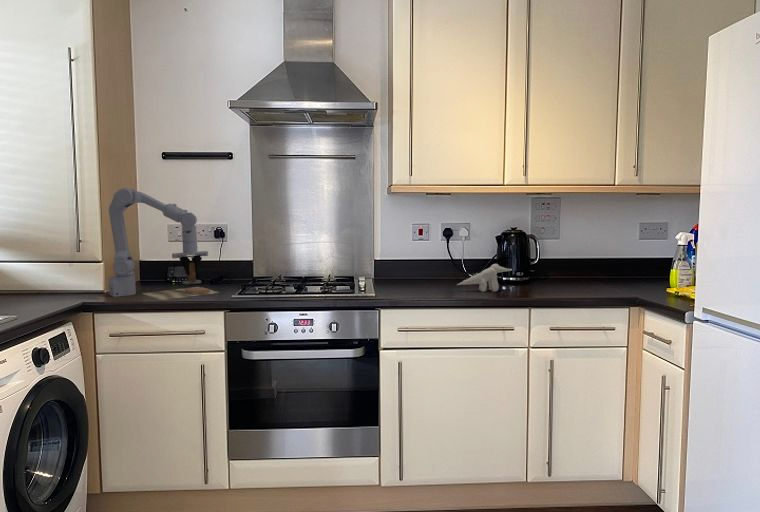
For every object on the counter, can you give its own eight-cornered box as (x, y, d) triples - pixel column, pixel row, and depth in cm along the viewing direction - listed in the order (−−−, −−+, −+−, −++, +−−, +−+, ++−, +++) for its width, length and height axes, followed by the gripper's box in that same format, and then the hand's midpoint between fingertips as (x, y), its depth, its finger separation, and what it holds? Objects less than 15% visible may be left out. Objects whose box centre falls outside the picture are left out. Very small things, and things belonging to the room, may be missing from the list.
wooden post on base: (187, 284, 217) (186, 264, 216) (182, 283, 220) (181, 263, 220) (201, 282, 221) (200, 262, 220) (196, 281, 225) (195, 261, 224)
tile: (185, 292, 218) (193, 295, 212) (185, 289, 217) (193, 291, 212) (201, 290, 222) (209, 292, 216) (201, 287, 222) (209, 289, 216)
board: (161, 302, 201) (161, 300, 201) (141, 295, 217) (141, 293, 217) (220, 294, 217) (220, 292, 217) (197, 288, 233) (197, 286, 233)
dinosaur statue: (516, 289, 215) (514, 262, 214) (458, 296, 214) (456, 269, 213) (511, 287, 222) (508, 261, 221) (455, 294, 221) (452, 267, 220)
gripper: (176, 243, 211) (177, 276, 212) (210, 241, 221) (212, 273, 222) (169, 242, 216) (171, 275, 218) (203, 240, 226) (204, 272, 227)
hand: (191, 274), depth 220 cm, fingers closed on wooden post on base, 2 cm apart
